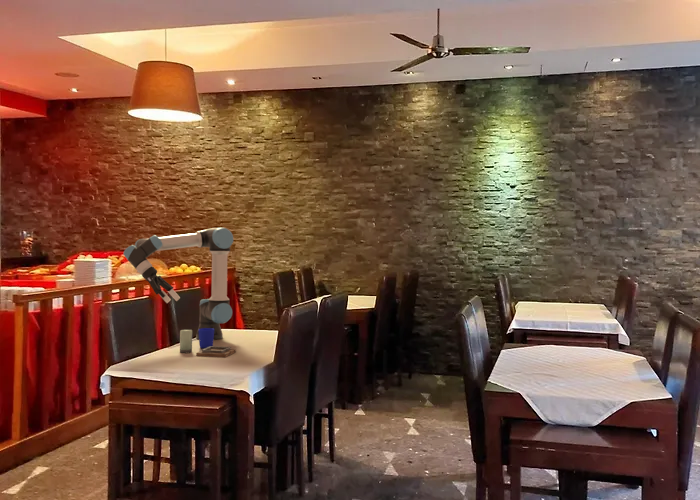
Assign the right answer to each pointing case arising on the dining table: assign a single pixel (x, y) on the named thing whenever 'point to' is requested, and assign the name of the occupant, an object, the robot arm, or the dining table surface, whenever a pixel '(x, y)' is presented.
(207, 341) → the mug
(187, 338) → the sleeve
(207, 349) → the socket board
